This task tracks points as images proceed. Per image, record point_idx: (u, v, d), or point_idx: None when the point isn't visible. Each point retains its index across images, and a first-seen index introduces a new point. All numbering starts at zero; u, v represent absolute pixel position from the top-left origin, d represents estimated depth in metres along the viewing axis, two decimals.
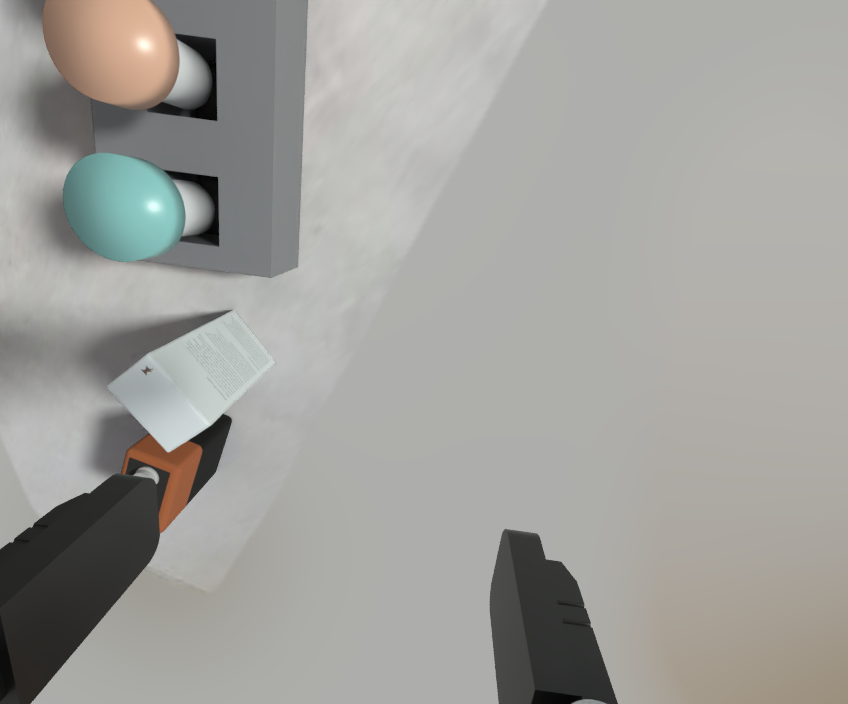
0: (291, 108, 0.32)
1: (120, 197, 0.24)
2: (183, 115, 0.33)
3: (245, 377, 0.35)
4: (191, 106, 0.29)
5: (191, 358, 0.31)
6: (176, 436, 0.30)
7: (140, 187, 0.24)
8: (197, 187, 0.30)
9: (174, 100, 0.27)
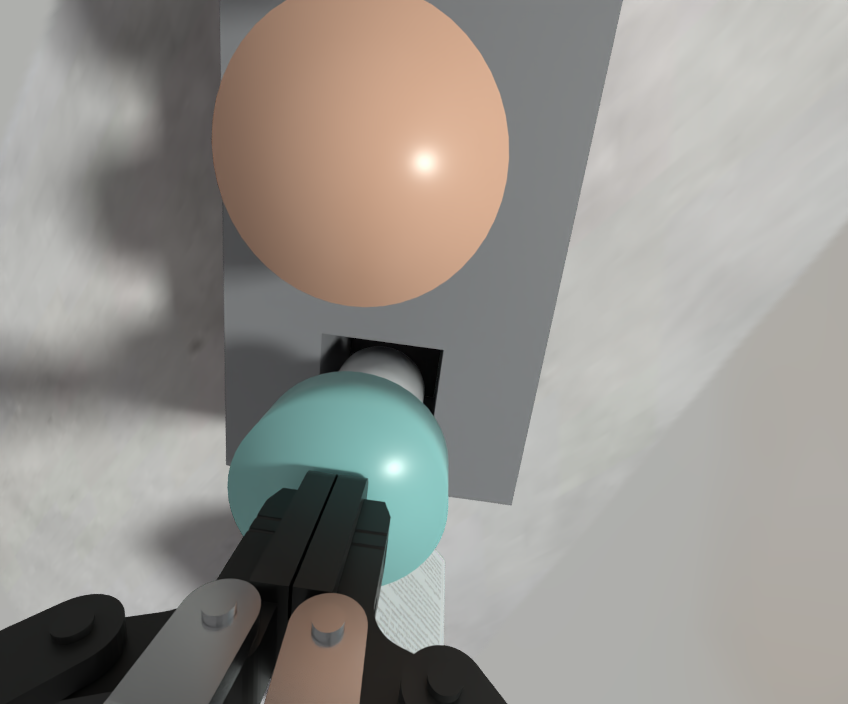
0: None
1: None
2: None
3: (435, 633, 0.22)
4: None
5: None
6: None
7: (403, 466, 0.11)
8: (407, 365, 0.17)
9: None
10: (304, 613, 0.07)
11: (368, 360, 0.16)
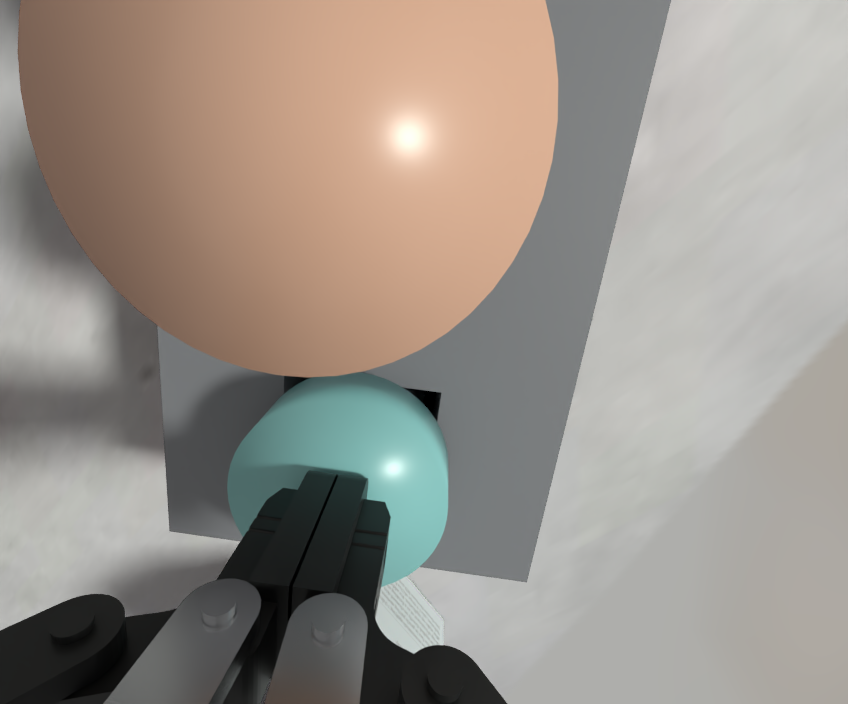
0: None
1: None
2: None
3: None
4: None
5: None
6: None
7: (403, 467, 0.11)
8: None
9: None
10: (304, 613, 0.07)
11: None
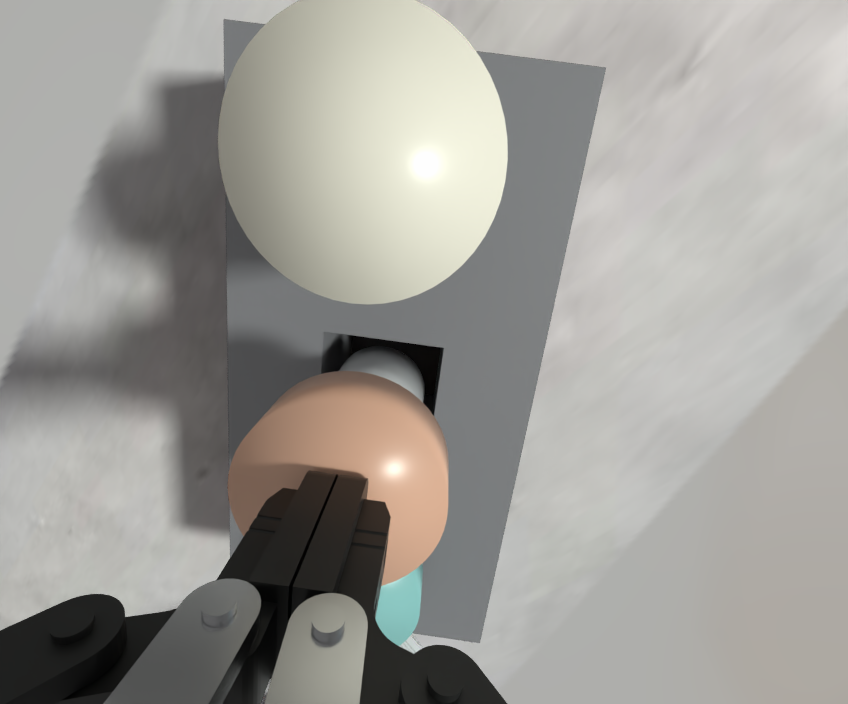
0: None
1: None
2: None
3: None
4: None
5: None
6: None
7: (391, 585, 0.18)
8: None
9: None
10: (304, 613, 0.07)
11: None
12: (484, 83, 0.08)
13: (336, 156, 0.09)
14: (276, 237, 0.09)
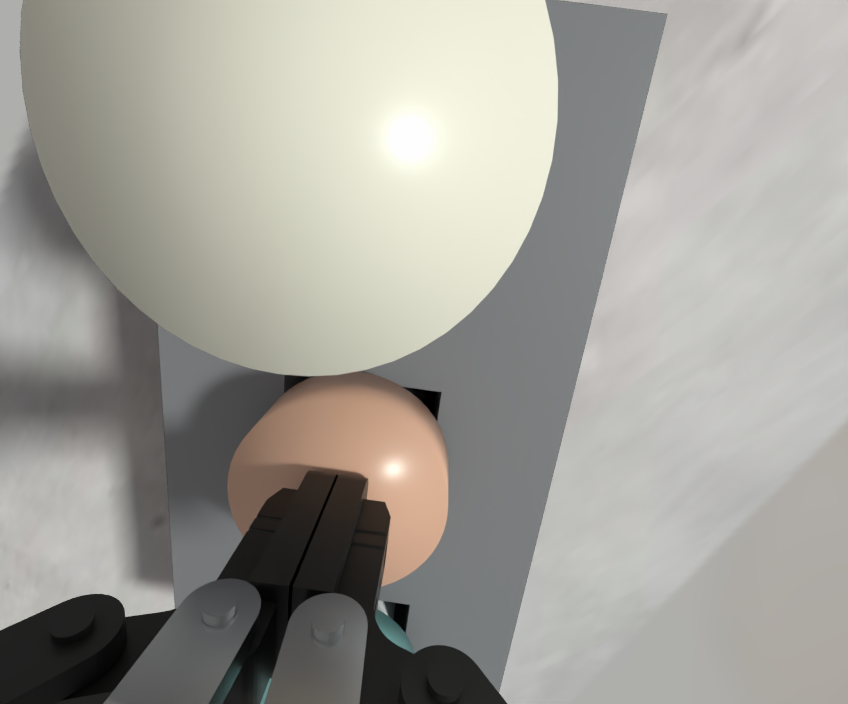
0: None
1: None
2: None
3: None
4: None
5: None
6: None
7: None
8: None
9: None
10: (304, 613, 0.07)
11: None
12: None
13: (240, 116, 0.05)
14: (144, 262, 0.05)
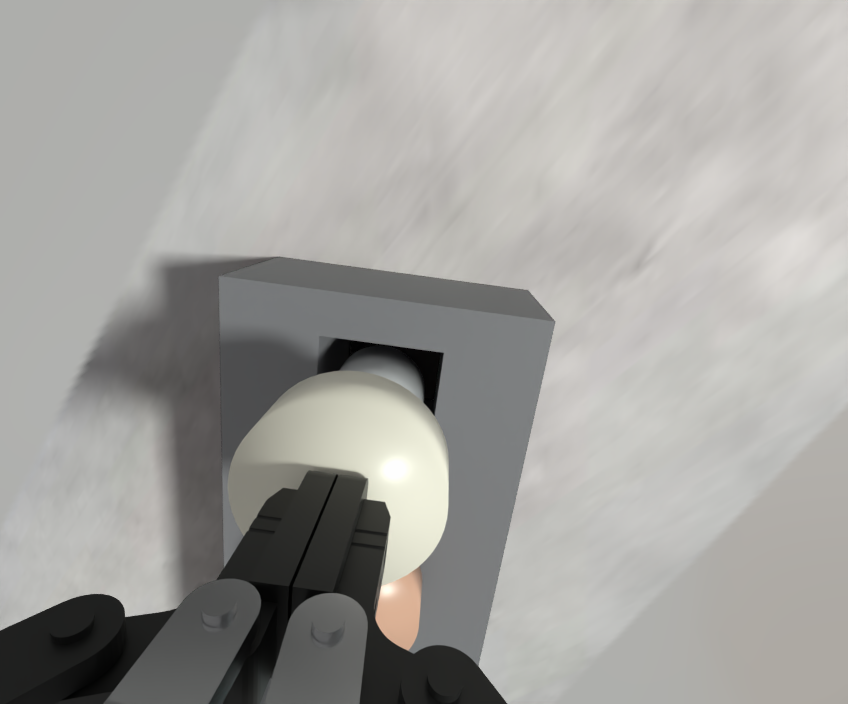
0: None
1: None
2: None
3: None
4: None
5: None
6: None
7: None
8: None
9: None
10: (304, 613, 0.07)
11: None
12: (428, 461, 0.11)
13: None
14: None
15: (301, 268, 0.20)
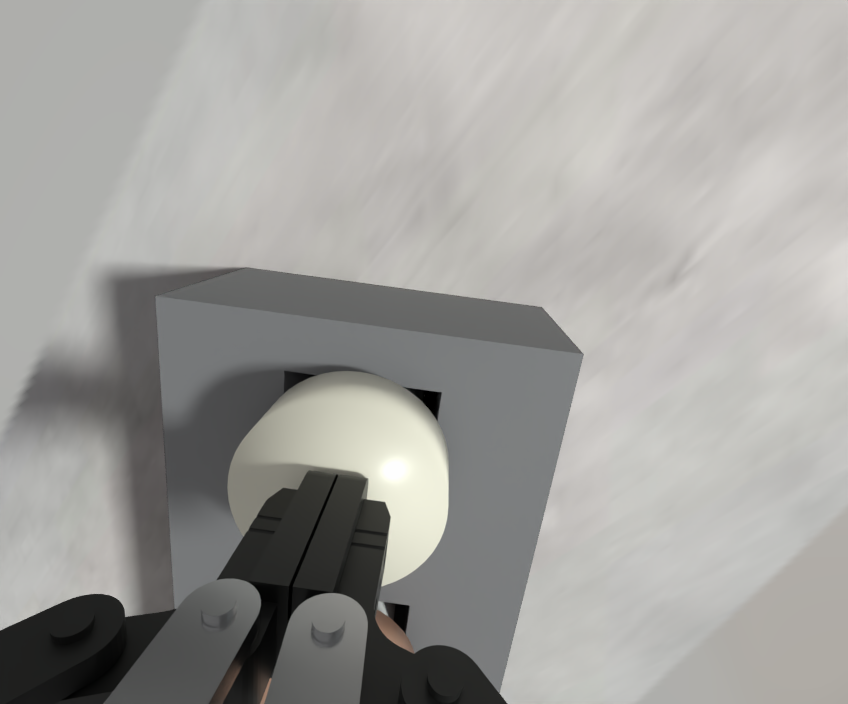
0: None
1: None
2: None
3: None
4: None
5: None
6: None
7: None
8: None
9: None
10: (304, 613, 0.07)
11: None
12: (428, 461, 0.11)
13: None
14: None
15: (269, 282, 0.16)
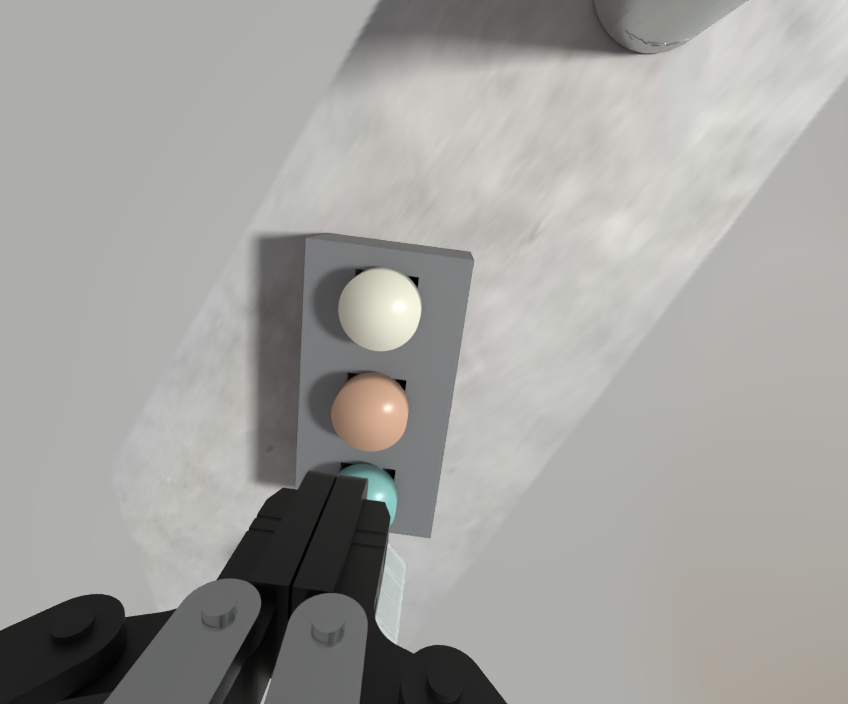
0: None
1: None
2: None
3: (397, 602, 0.43)
4: None
5: None
6: None
7: (381, 497, 0.35)
8: None
9: None
10: (304, 613, 0.07)
11: None
12: (412, 293, 0.30)
13: (372, 310, 0.31)
14: (353, 331, 0.31)
15: (342, 237, 0.36)
